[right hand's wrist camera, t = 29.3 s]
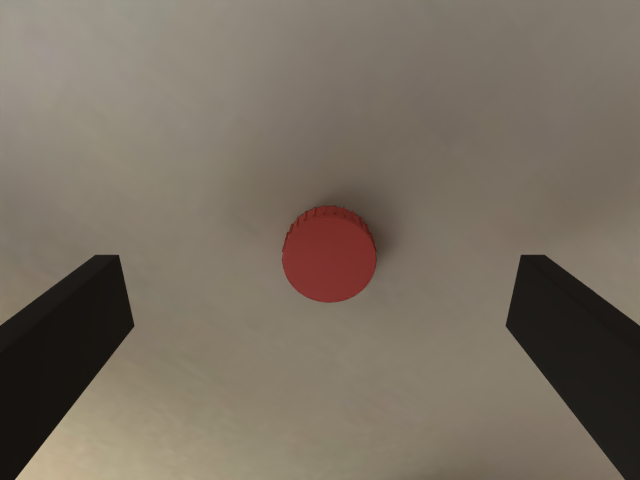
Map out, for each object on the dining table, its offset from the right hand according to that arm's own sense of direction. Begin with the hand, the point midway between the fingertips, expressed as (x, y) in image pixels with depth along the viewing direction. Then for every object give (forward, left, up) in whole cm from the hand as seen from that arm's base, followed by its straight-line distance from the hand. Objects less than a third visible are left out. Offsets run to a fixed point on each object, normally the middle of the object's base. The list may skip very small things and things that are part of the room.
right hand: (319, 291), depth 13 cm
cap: (0, 0, -3) cm, 3 cm away
